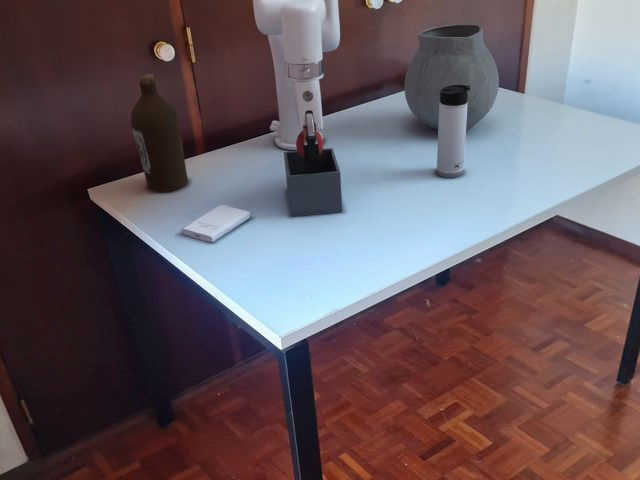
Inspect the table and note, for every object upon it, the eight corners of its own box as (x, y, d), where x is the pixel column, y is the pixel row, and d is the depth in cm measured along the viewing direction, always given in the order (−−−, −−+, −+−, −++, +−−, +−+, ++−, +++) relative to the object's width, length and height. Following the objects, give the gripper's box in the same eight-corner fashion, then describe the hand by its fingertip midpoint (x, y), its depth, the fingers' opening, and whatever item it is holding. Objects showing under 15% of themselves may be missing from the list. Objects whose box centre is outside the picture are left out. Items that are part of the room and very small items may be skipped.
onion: (323, 165, 150) (321, 128, 145) (296, 166, 150) (293, 129, 145) (324, 155, 154) (322, 118, 150) (298, 156, 155) (295, 119, 150)
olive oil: (184, 172, 173) (164, 66, 158) (195, 187, 166) (176, 78, 151) (141, 180, 170) (116, 73, 155) (150, 197, 162) (125, 86, 147)
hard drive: (250, 218, 152) (212, 243, 143) (221, 210, 155) (182, 234, 147) (249, 211, 151) (211, 236, 142) (220, 204, 154) (181, 227, 146)
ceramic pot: (433, 106, 206) (436, 13, 191) (510, 120, 194) (520, 22, 179) (387, 132, 190) (386, 33, 175) (467, 149, 179) (474, 45, 164)
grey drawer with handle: (286, 181, 167) (282, 144, 161) (332, 177, 168) (330, 140, 162) (291, 216, 152) (287, 176, 146) (342, 211, 153) (340, 172, 147)
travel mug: (463, 178, 164) (469, 91, 152) (435, 177, 166) (438, 90, 154) (465, 168, 169) (471, 82, 157) (437, 166, 170) (441, 81, 158)
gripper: (327, 80, 134) (332, 170, 145) (318, 56, 148) (323, 140, 159) (288, 83, 134) (296, 173, 144) (283, 59, 147) (290, 143, 158)
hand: (310, 155), depth 152 cm, fingers closed on onion, 6 cm apart
